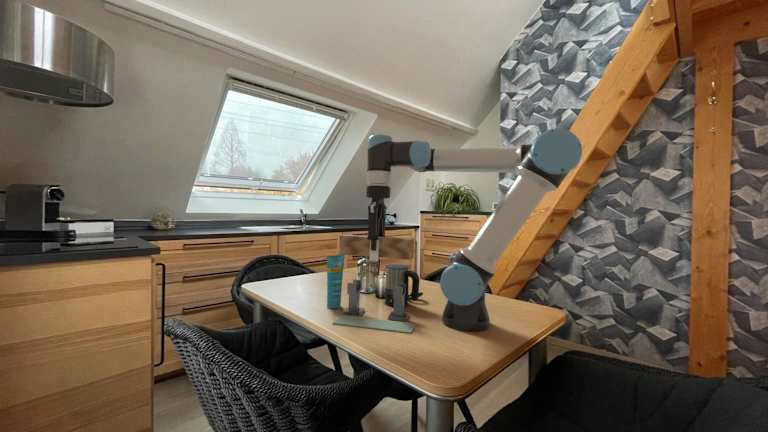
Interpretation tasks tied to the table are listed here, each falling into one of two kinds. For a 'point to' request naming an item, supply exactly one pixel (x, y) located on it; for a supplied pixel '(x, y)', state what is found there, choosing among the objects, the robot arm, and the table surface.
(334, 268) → the tube
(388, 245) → the rail
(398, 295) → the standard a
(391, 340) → the table surface
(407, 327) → the felt mat
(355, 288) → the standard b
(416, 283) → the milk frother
